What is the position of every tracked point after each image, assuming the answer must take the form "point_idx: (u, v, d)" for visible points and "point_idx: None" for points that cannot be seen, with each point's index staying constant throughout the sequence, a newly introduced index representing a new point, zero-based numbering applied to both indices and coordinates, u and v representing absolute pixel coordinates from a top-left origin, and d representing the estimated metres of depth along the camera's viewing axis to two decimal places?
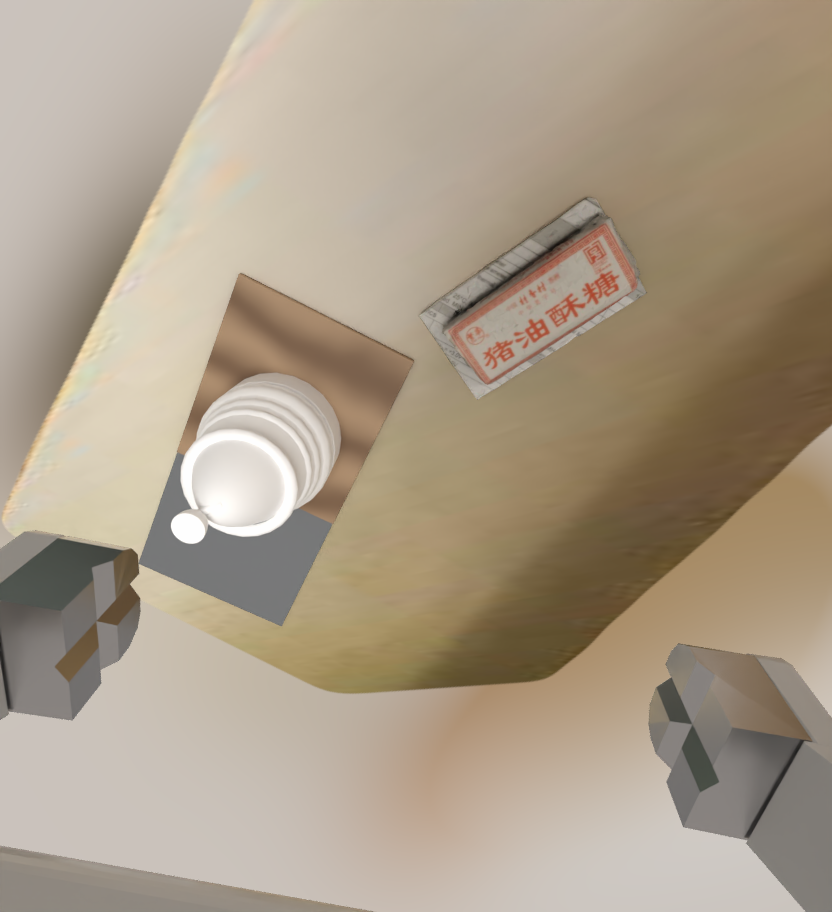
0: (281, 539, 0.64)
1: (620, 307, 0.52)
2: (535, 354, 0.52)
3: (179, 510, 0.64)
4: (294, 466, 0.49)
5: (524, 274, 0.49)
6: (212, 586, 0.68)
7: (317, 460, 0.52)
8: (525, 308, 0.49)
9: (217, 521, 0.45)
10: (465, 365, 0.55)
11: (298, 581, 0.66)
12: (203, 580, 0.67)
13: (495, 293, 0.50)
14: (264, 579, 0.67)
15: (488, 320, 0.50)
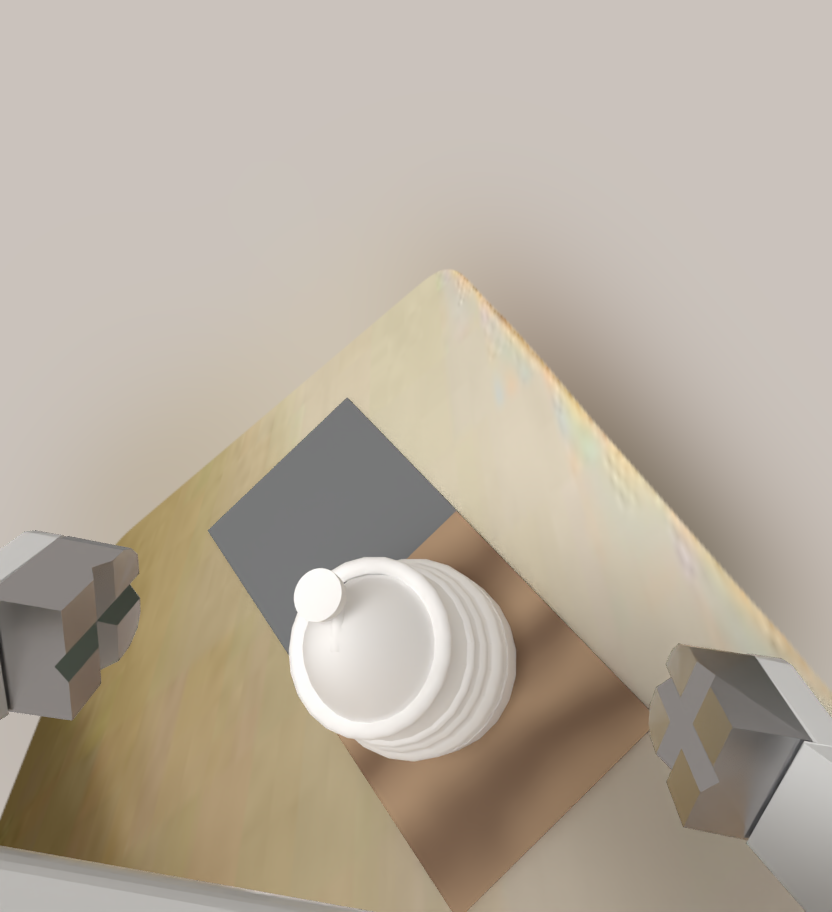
0: None
1: None
2: None
3: (387, 476, 0.50)
4: None
5: None
6: (286, 470, 0.54)
7: (364, 742, 0.35)
8: None
9: (316, 625, 0.29)
10: None
11: (247, 580, 0.51)
12: (298, 463, 0.54)
13: None
14: (267, 539, 0.52)
15: None
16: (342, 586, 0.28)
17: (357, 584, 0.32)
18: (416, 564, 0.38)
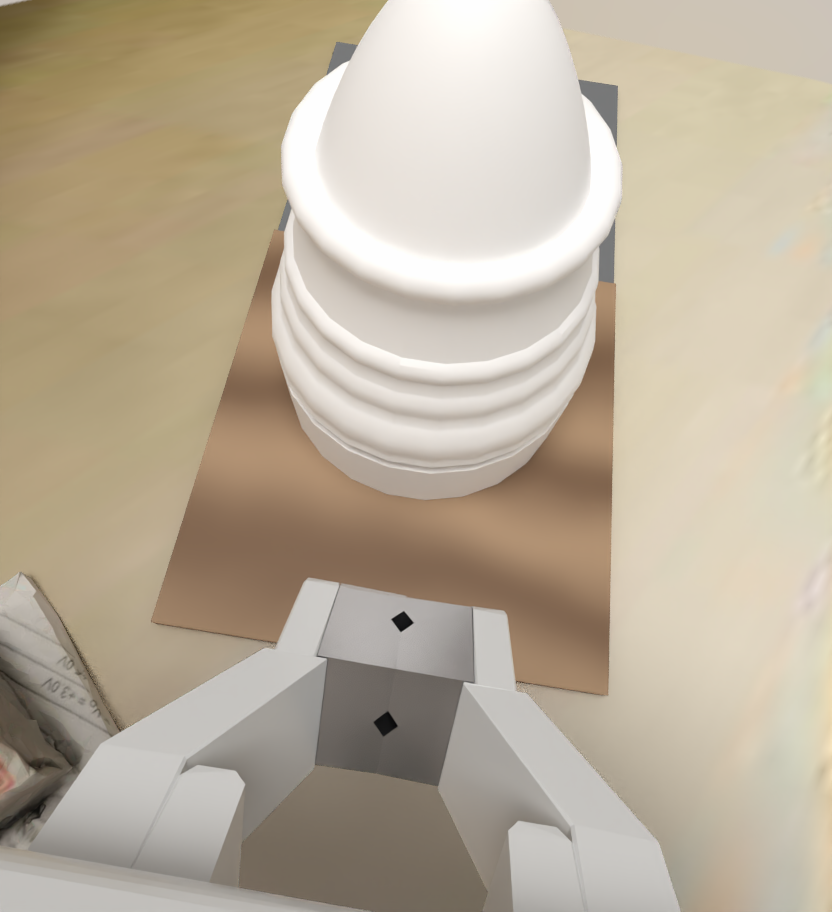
0: None
1: None
2: None
3: None
4: (316, 251, 0.17)
5: None
6: None
7: (287, 305, 0.20)
8: None
9: None
10: (37, 660, 0.22)
11: None
12: None
13: None
14: None
15: None
16: None
17: None
18: None
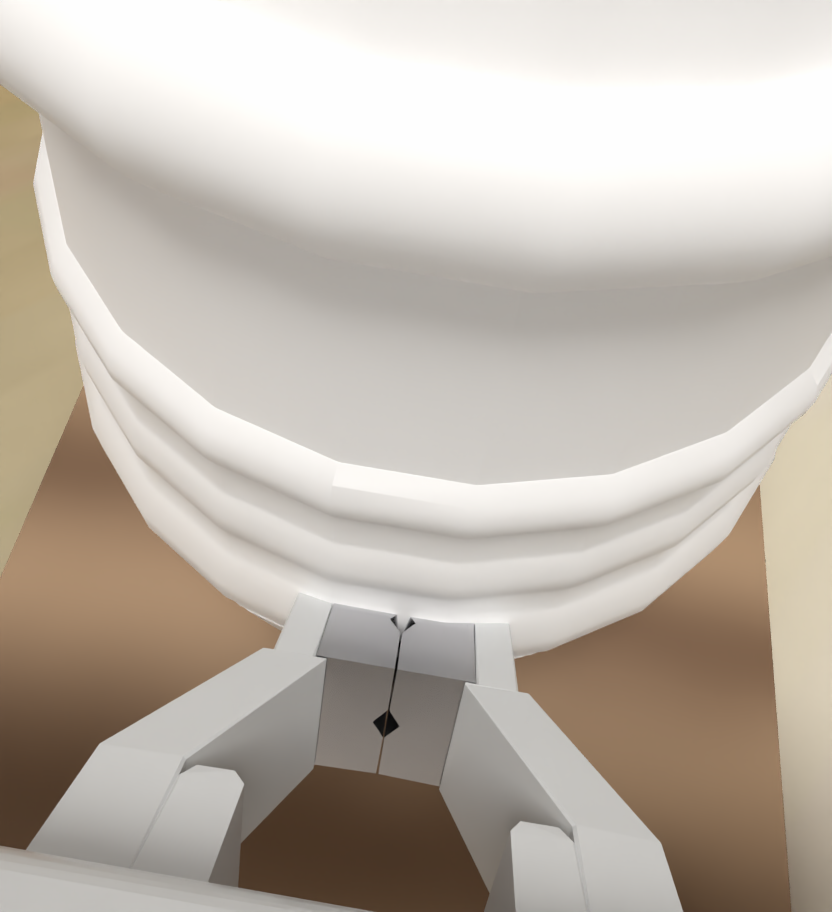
0: None
1: None
2: None
3: None
4: None
5: None
6: None
7: None
8: None
9: None
10: None
11: None
12: None
13: None
14: None
15: None
16: None
17: None
18: None
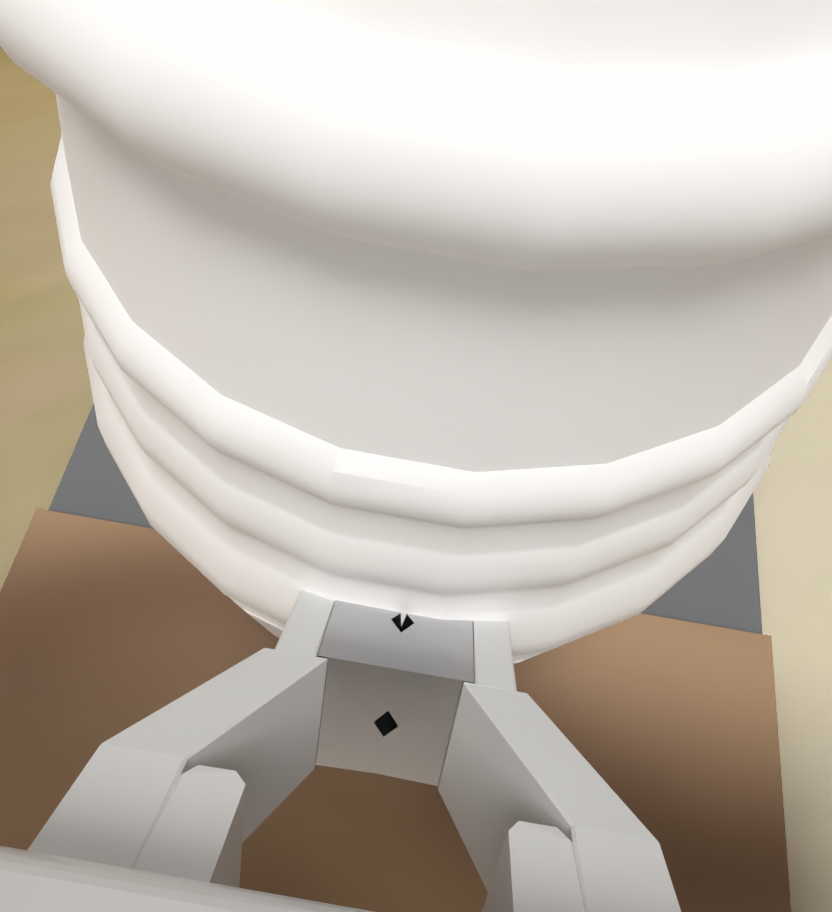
0: None
1: None
2: None
3: None
4: (64, 100, 0.05)
5: None
6: None
7: None
8: None
9: None
10: None
11: None
12: None
13: None
14: None
15: None
16: None
17: None
18: None
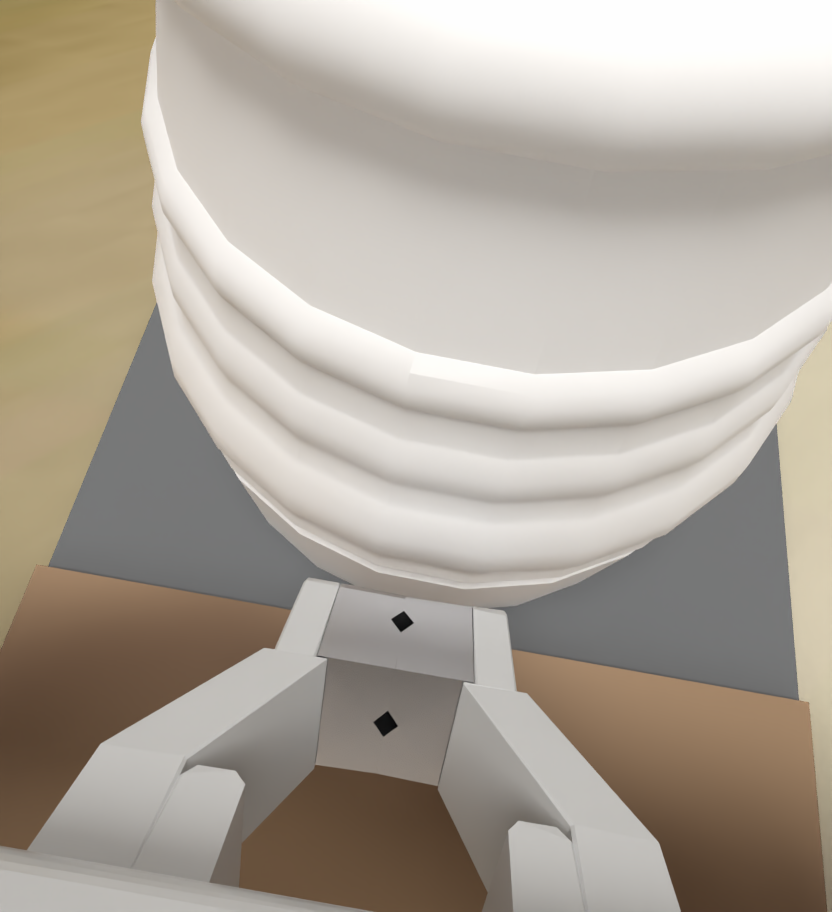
0: None
1: None
2: None
3: None
4: (180, 34, 0.06)
5: None
6: None
7: (160, 226, 0.09)
8: None
9: None
10: None
11: None
12: None
13: None
14: None
15: None
16: None
17: None
18: None
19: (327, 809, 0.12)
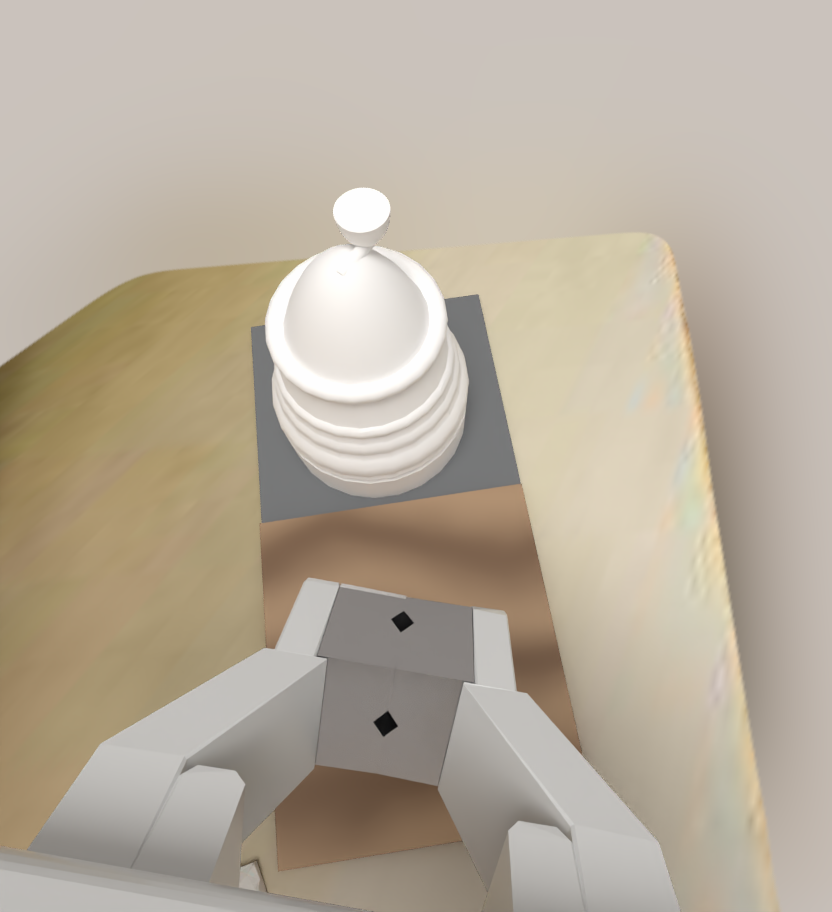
0: None
1: None
2: None
3: (470, 401, 0.42)
4: None
5: None
6: None
7: (288, 412, 0.35)
8: None
9: (335, 247, 0.28)
10: None
11: (262, 405, 0.43)
12: None
13: None
14: None
15: None
16: (388, 219, 0.26)
17: None
18: None
19: (379, 561, 0.38)
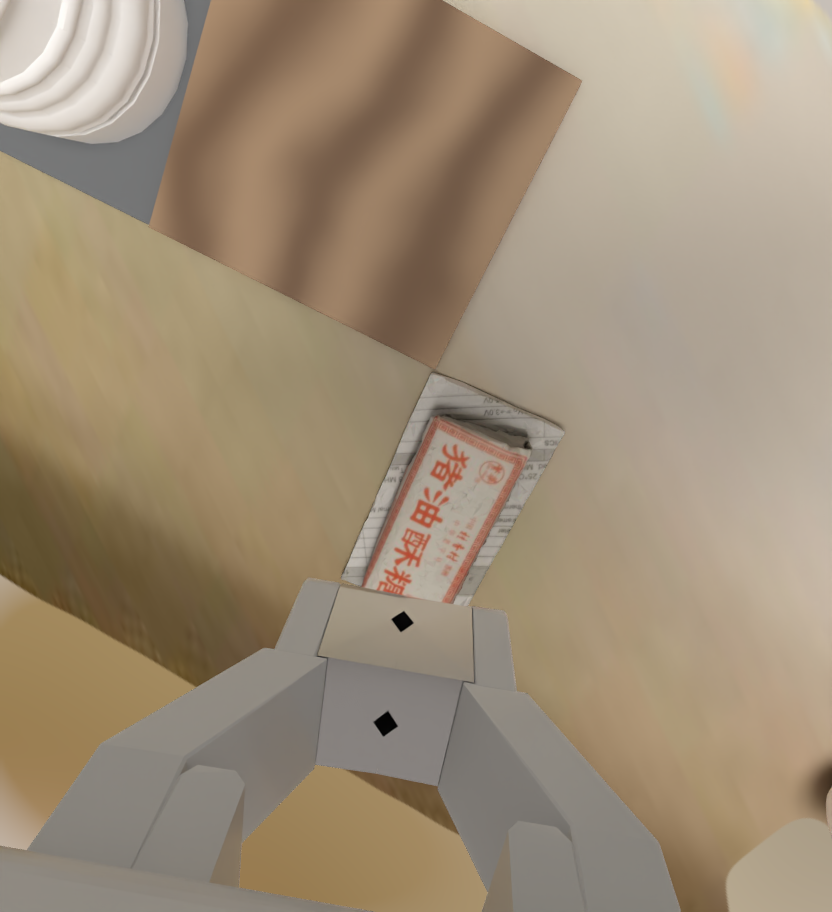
0: None
1: (354, 554, 0.44)
2: (406, 482, 0.39)
3: None
4: None
5: None
6: None
7: (11, 106, 0.28)
8: (454, 529, 0.39)
9: None
10: (473, 406, 0.39)
11: (13, 148, 0.35)
12: None
13: (496, 521, 0.39)
14: None
15: (487, 497, 0.38)
16: None
17: None
18: None
19: (244, 129, 0.34)
